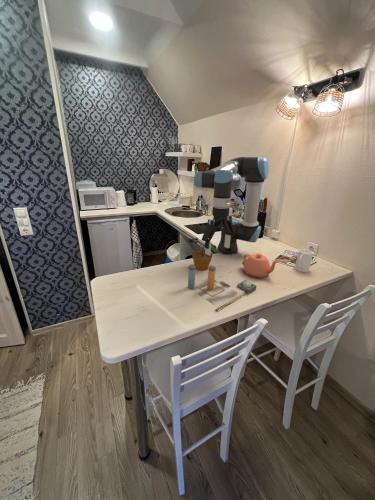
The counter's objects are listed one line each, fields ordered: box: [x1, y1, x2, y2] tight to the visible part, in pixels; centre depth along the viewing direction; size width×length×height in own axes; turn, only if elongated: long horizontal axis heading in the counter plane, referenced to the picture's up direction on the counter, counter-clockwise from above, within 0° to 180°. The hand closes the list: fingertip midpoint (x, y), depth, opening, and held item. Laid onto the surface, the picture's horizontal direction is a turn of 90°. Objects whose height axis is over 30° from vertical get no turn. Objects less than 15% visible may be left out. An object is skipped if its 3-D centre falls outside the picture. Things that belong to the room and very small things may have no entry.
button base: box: [236, 279, 257, 295], centre depth 116 cm, size 7×7×2 cm
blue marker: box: [187, 264, 196, 290], centre depth 112 cm, size 4×4×12 cm
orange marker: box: [207, 265, 217, 290], centre depth 111 cm, size 4×4×12 cm
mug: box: [294, 248, 314, 273], centre depth 137 cm, size 12×8×12 cm
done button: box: [242, 280, 253, 288], centre depth 116 cm, size 4×4×3 cm
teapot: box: [242, 252, 280, 278], centre depth 130 cm, size 22×16×12 cm
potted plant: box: [188, 225, 217, 272], centre depth 130 cm, size 18×19×30 cm
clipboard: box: [186, 277, 245, 312], centre depth 112 cm, size 24×20×1 cm
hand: (217, 250), depth 106 cm, fingers open, 13 cm apart
